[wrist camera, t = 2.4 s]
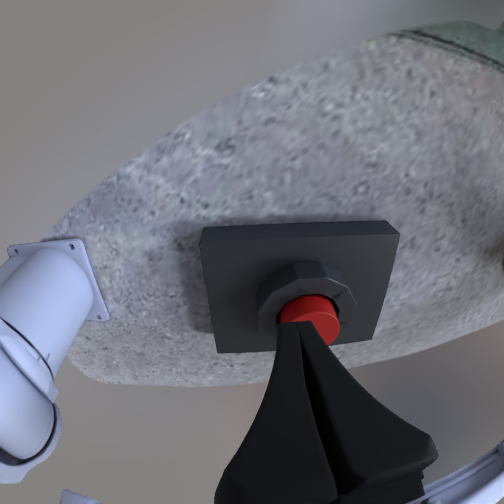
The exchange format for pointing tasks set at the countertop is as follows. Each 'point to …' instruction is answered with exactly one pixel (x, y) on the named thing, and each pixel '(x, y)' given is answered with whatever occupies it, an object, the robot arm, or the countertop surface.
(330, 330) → the power button
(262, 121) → the countertop surface
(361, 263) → the control box
